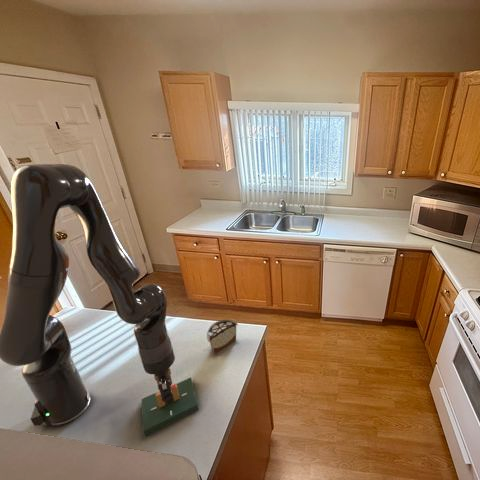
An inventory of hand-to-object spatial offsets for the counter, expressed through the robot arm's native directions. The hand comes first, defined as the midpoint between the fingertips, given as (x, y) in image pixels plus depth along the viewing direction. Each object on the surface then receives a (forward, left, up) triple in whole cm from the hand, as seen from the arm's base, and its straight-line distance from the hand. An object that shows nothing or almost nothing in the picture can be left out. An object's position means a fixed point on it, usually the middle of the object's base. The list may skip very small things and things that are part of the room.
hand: (168, 391), depth 77 cm
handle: (0, 0, -4) cm, 4 cm away
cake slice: (+20, +17, -7) cm, 27 cm away
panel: (0, 0, -7) cm, 7 cm away
